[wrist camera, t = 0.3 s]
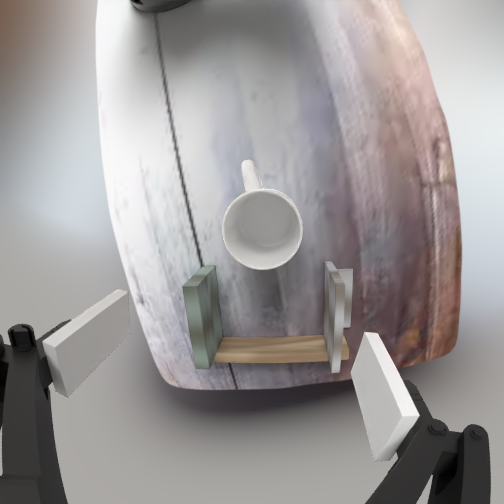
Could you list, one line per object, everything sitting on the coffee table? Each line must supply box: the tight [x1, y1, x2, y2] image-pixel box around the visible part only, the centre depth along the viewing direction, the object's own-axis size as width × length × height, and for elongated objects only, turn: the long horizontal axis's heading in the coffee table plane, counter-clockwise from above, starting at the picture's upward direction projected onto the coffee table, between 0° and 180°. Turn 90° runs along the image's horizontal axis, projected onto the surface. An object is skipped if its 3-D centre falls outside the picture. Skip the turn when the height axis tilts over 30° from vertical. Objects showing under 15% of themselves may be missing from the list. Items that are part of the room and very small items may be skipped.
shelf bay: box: [182, 261, 353, 373], centre depth 37 cm, size 13×23×10 cm, turn 94°
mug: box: [222, 160, 303, 270], centre depth 34 cm, size 12×8×10 cm
